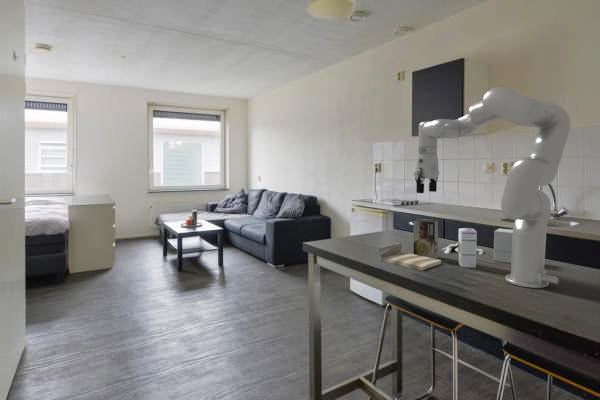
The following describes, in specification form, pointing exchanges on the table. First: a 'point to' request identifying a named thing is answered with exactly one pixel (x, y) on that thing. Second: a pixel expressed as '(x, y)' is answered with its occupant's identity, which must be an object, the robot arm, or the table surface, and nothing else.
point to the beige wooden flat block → (405, 258)
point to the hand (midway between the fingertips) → (426, 192)
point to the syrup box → (467, 247)
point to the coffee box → (426, 238)
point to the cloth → (455, 248)
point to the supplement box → (503, 245)
